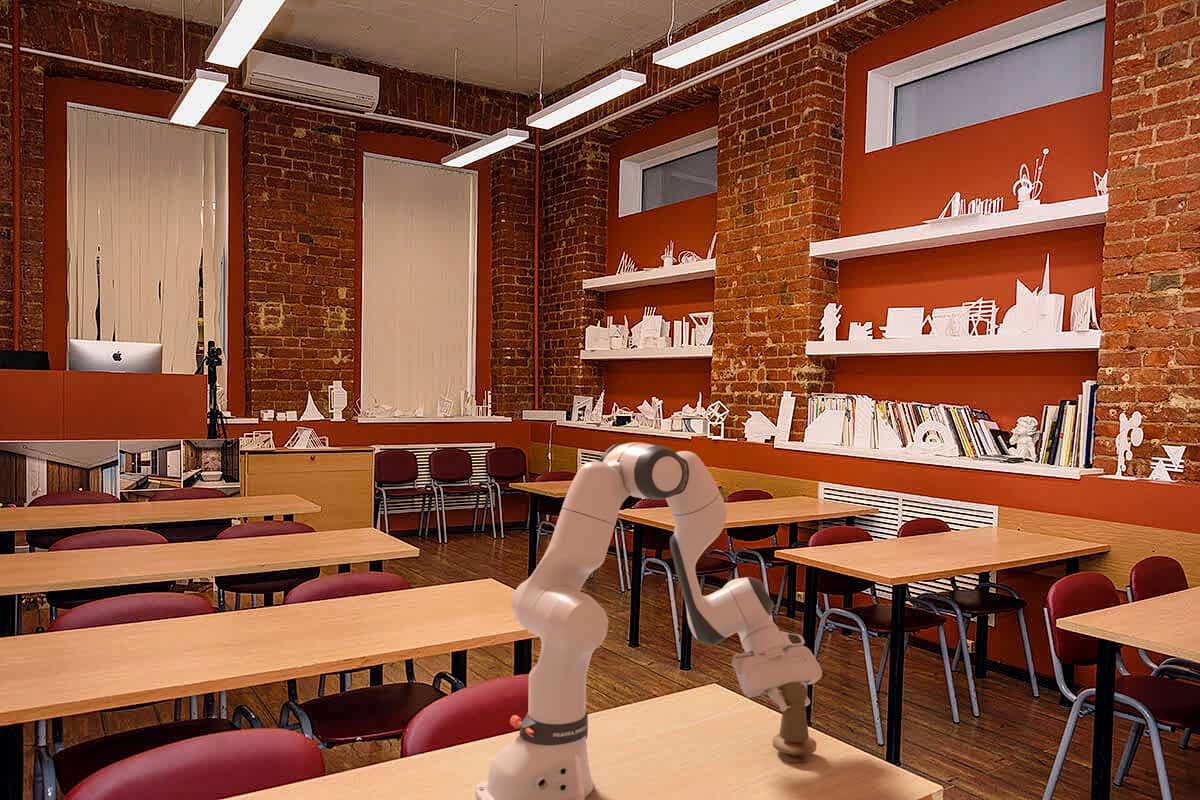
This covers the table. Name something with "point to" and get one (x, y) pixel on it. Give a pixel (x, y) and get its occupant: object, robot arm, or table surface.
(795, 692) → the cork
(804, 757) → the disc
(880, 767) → the table surface
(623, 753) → the table surface
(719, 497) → the robot arm
